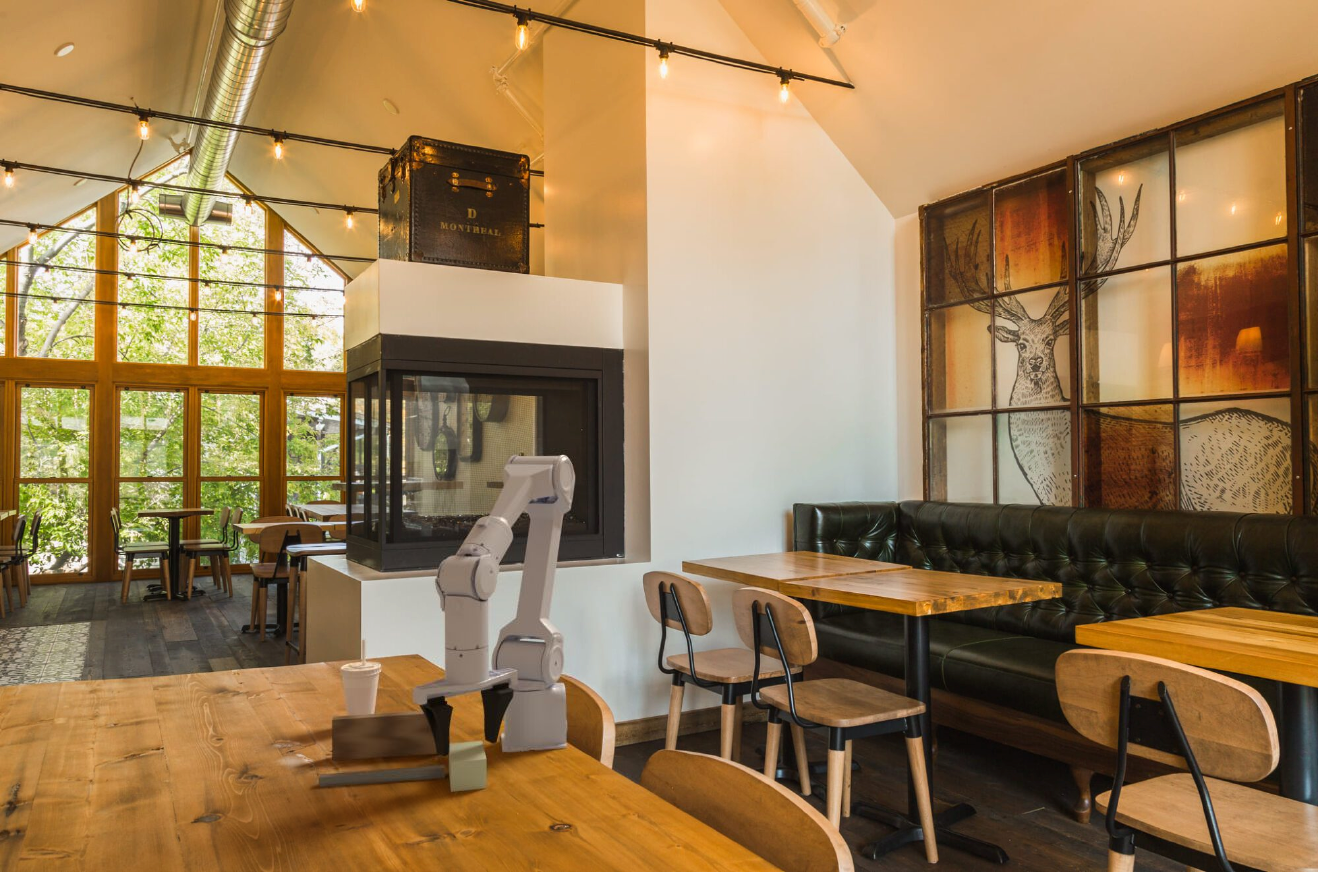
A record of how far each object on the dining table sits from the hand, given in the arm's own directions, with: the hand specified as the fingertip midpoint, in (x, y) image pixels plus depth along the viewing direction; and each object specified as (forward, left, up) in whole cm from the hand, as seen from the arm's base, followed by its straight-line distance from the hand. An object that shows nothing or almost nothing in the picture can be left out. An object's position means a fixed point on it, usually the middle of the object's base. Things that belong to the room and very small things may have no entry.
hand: (467, 747), depth 118 cm
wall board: (+11, -13, -5) cm, 18 cm away
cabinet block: (0, 0, -5) cm, 5 cm away
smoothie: (+17, -29, -5) cm, 34 cm away
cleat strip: (+11, -2, -5) cm, 12 cm away
